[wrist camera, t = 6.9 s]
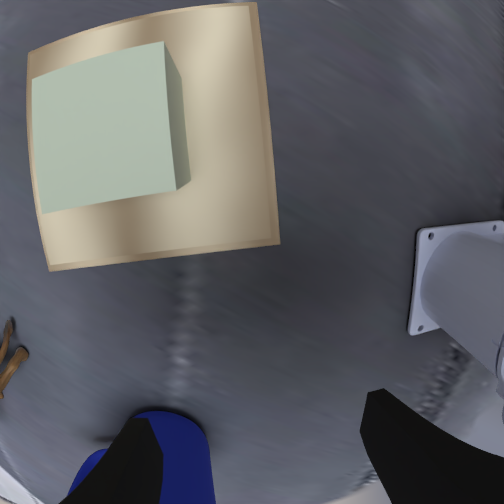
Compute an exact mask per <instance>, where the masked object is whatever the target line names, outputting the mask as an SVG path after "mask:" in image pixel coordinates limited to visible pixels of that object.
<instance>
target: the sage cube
mask: <svg viewBox="0 0 504 504" xmlns="http://www.w3.org/2000/svg"><path fill="white" fill-rule="evenodd" d="M32 130H33V145H34V157H35V167H36V176H37V184H38V191H39V198H40V204H41V210H42V214H46V213H51V212H56V211H60V210H65V209H70V208H75V207H80V206H85V205H91V204H96V203H102V202H107V201H113V200H119V199H125V198H131V197H137V196H143V195H150V194H156V193H163V192H170V191H177V190H178V189H180V188H181V187H183V186H184V185H186V184H187V183H189V182H190V181H191V175H190V166H189V156H188V147H187V137H186V126H185V115H184V103H183V91H182V78H181V76H180V74H179V72H178V70H177V68H176V65H175V63H174V61H173V59H172V57H171V55H170V53H169V51H168V49H167V47H166V44H165V42H164V41H161V42H156V43H151V44H146V45H141V46H136V47H132V48H127V49H123V50H119V51H115V52H111V53H108V54H104V55H100V56H97V57H93V58H90V59H87V60H84V61H80V62H77V63H74V64H71V65H68V66H65V67H63V68H60V69H57V70H54V71H52V72H49V73H46V74H44V75H41V76H39V77H36V78H34V79H32Z"/></svg>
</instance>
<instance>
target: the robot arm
mask: <svg viewBox="0 0 504 504" xmlns="http://www.w3.org/2000/svg"><path fill="white" fill-rule="evenodd" d="M429 233H431V236H430V238H428V235H429ZM419 326H420V328H419ZM418 328H419V329H418ZM438 328H442V329H443V330H444V331H446V332H447V333H448V334H449V335H450V336H451V337H452V338H454V339H455V340H456V341H457V342H458V343H459V344H460V345H462V346H463V347H464V348H465V349H466V350H467V351H468V352H469V353H471V354H472V355H473V356H474V357H475V358H476V359H477V360H478V361H479V362H481V363H482V364H483V365H484V366H485V367H486V368H487V369H488V370H489V371H490V372H491V373H492V374H494V375H495V376H496V377H497V378H498V380H499V382H498V386H497V389H496V392H497V393H498V394H499V395H500V396H501V397H502V398H503V399H504V222H503V221H501V220H495V221H486V222H476V223H467V224H458V225H448V226H439V227H430V228H422V229H420V230H419V231H418V233H417V244H416V260H415V272H414V283H413V292H412V301H411V309H410V316H409V323H408V333H409V334H410V335H417V334H420V333H424V332H427V331H431V330H434V329H438ZM502 418H503V424H504V406H503V412H502ZM360 434H361V437H362V440H363V443H364V446H365V449H366V452H367V455H368V457H369V459H370V461H371V463H372V465H373V467H374V469H375V471H376V473H377V475H378V477H379V479H380V481H381V483H382V484H383V486H384V488H385V490H386V492H387V494H388V496H389V498H390V500H391V503H392V504H504V457H501V456H498V455H494V454H491V453H488V452H486V451H483V450H481V449H478V448H476V447H473V446H471V445H469V444H467V443H465V442H463V441H461V440H459V439H457V438H455V437H454V436H452V435H450V434H448V433H447V432H445V431H443V430H442V429H440V428H438V427H437V426H435V425H434V424H432V423H431V422H429V421H428V420H426V419H425V418H423V417H422V416H420V415H419V414H418V413H416V412H415V411H413V410H412V409H411V408H409V407H408V406H407V405H405V404H404V403H403V402H401V401H400V400H399V399H397V398H396V397H395V396H393V395H392V394H391V393H390V392H388V391H387V390H385V389H384V388H383V389H379V390H376V391H372V392H368V394H367V399H366V404H365V409H364V413H363V418H362V422H361V427H360ZM163 457H164V454H163V452H162V450H161V447H160V445H159V443H158V441H157V438H156V436H155V434H154V431H153V429H152V426H151V424H150V422H149V419H148V418H130V419H129V420H128V421H127V423H126V424H125V426H124V427H123V429H122V430H121V431H120V433H119V434H118V436H117V437H116V439H115V440H114V441H113V443H112V444H111V445H110V447H109V448H108V450H107V451H106V452H105V453H104V455H103V456H102V457H101V459H100V460H99V461H98V463H97V464H96V465H95V466H94V468H93V469H92V470H91V471H90V472H89V473H88V475H87V476H86V477H85V478H84V479H83V480H82V481H81V483H80V484H79V485H78V486H77V487H76V488H75V489H74V490H73V491H72V492H71V493H70V494H69V495H68V496H67V497H66V498H65V499H63V500H62V501H61V502H60V503H59V504H159V502H160V495H161V489H162V482H163Z"/></svg>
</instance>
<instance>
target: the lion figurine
mask: <svg viewBox="0 0 504 504" xmlns="http://www.w3.org/2000/svg"><path fill="white" fill-rule="evenodd" d="M12 332H13V328H12V322H11V321H10V320H7V322H6V325H5V329H4V338H3V344H2V347H1V349H0V364H1V362H2V361H3V359H4V357H5V354H6V351H7V349H8V345H9V340H10V336H11V334H12ZM27 358H28V352H27V351H26V350H25V349H24V348H22V347H19V348H17V350H16V352H15V354H14V356H13V357H12V358H11V359H10V361H9V362H8V364H7V367H6V368H5V370H4V371H3V372H2V373H1V374H0V399H2V398H3V394H2V391H3V390H4V388H5V387H6V385H7V384H8V382H9V380H10V378H11V376H12V375H13V373H14V372H15V371H16V370H17V368H18V367H19V364H20V362H21V361H26V360H27Z"/></svg>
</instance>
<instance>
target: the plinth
mask: <svg viewBox="0 0 504 504" xmlns="http://www.w3.org/2000/svg"><path fill="white" fill-rule="evenodd" d="M161 41H164V42H165V44H166V47H167V49H168V51H169V53H170V55H171V57H172V59H173V61H174V63H175V65H176V68H177V70H178V72H179V74H180V76H181V78H182V91H183V103H184V115H185V126H186V137H187V147H188V156H189V166H190V175H191V181H190V182H189V183H187V184H186V185H184V186H183V187H181V188H180V189H178V190H177V191H170V192H163V193H156V194H150V195H143V196H137V197H131V198H125V199H119V200H113V201H107V202H102V203H96V204H91V205H85V206H80V207H75V208H70V209H65V210H60V211H56V212H51V213H46V214H42V210H41V204H40V198H39V191H38V184H37V176H36V167H35V157H34V145H33V130H32V79H34V78H36V77H39V76H41V75H44V74H46V73H49V72H52V71H54V70H57V69H60V68H63V67H65V66H68V65H71V64H74V63H77V62H80V61H84V60H87V59H90V58H93V57H97V56H100V55H104V54H108V53H111V52H115V51H119V50H123V49H127V48H132V47H136V46H141V45H146V44H151V43H156V42H161ZM27 134H28V149H29V161H30V170H31V179H32V187H33V194H34V200H35V207H36V212H37V218H38V223H39V228H40V233H41V238H42V243H43V247H44V252H45V256H46V260H47V264H48V268H49V272H51V271H59V270H67V269H75V268H83V267H92V266H100V265H108V264H117V263H125V262H133V261H142V260H150V259H158V258H167V257H175V256H184V255H192V254H201V253H209V252H218V251H227V250H235V249H244V248H252V247H261V246H270V245H279V244H280V235H279V221H278V208H277V195H276V183H275V171H274V160H273V148H272V138H271V127H270V117H269V107H268V97H267V87H266V78H265V69H264V60H263V51H262V42H261V34H260V26H259V17H258V10H257V2H245V3H226V4H214V5H204V6H195V7H187V8H180V9H174V10H168V11H162V12H157V13H151V14H146V15H142V16H137V17H133V18H129V19H125V20H121V21H117V22H113V23H109V24H106V25H102V26H99V27H96V28H92V29H89V30H86V31H83V32H80V33H77V34H74V35H71V36H68V37H66V38H63V39H60V40H58V41H55V42H53V43H50V44H48V45H45V46H43V47H40V48H38V49H36V50H33V51H31V52H29V53H28V66H27Z"/></svg>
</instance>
